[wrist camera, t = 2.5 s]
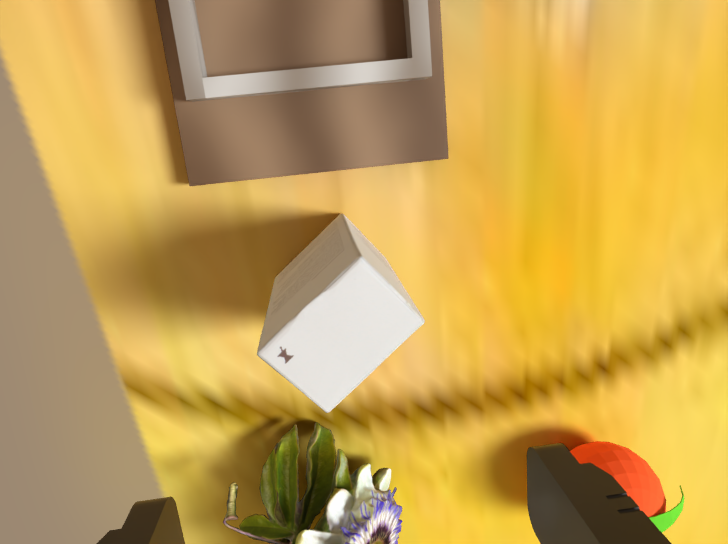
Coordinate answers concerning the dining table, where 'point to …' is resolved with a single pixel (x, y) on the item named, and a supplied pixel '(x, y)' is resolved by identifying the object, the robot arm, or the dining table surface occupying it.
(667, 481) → the dining table surface
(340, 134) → the brown shallow box
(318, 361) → the skincare box
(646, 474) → the clementine
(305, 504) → the passion flower
